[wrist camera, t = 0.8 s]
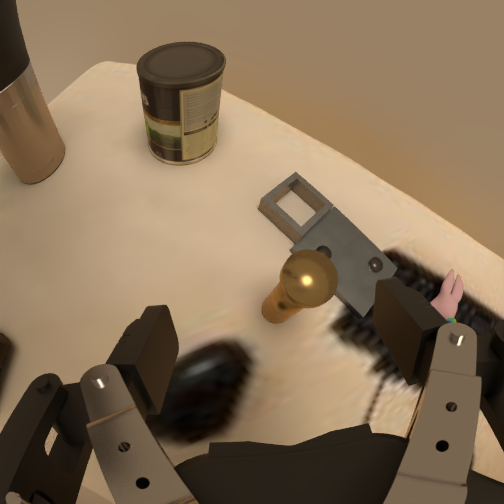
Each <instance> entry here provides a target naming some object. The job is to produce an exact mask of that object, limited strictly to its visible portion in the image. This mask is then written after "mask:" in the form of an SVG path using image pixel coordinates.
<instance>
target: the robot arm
mask: <svg viewBox="0 0 504 504" xmlns="http://www.w3.org/2000/svg"><path fill="white" fill-rule="evenodd" d="M0 151H1V152H2V154H3V156H4V157H5V159H6V160H7V162H8V163H9V165H10V166H11V168H12V169H13V170H14V172H15V173H16V175H17V176H18V177H19V179H20V180H21V181H22V182H24V183H27V184H32V183H36V182H39V181H41V180H43V179H45V178H46V177H48V176H49V175H50V174H51V173H53V172H54V171H55V169H56V168H57V167H58V166H59V164H60V163H61V161H62V159H63V157H64V153H65V146H64V143H63V141H62V139H61V137H60V135H59V133H58V130H57V128H56V126H55V123H54V121H53V119H52V116H51V114H50V112H49V109H48V107H47V104H46V102H45V100H44V97H43V95H42V92H41V89H40V87H39V84H38V81H37V79H36V76H35V74H34V71H33V68H32V65H31V62H30V59H29V56H28V53H27V50H26V46H25V42H24V38H23V35H22V31H21V27H20V23H19V18H18V13H17V6H16V0H0ZM373 319H374V325H375V328H376V331H377V332H378V334H379V336H380V337H381V339H382V341H383V342H384V344H385V346H386V347H387V349H388V351H389V352H390V354H391V356H392V357H393V359H394V361H395V363H396V364H397V366H398V368H399V370H400V371H401V373H402V375H403V377H404V378H405V380H406V382H407V384H408V385H409V386H410V385H413V384H416V383H419V382H420V383H421V385H422V388H421V391H420V394H419V397H418V400H417V404H416V407H415V410H414V413H413V416H412V419H411V421H410V424H409V427H408V430H407V432H406V435H405V437H404V438H403V437H400V436H396V435H391V434H384V433H372V431H371V428H370V425H369V423H367V424H363V425H359V426H354V427H350V428H345V429H340V430H335V431H331V432H328V433H326V434H323V435H321V436H318V437H315V438H313V439H310V440H307V441H305V442H302V443H299V444H296V445H292V446H284V445H274V444H265V443H257V442H250V441H246V442H216V443H210V446H209V453H207V454H203V455H199V456H196V457H193V458H191V459H188V460H186V461H184V462H182V463H180V464H179V465H177V466H176V467H175V466H174V465H173V464H172V462H171V461H170V459H169V458H168V456H167V455H166V453H165V452H164V450H163V448H162V447H161V445H160V444H159V442H158V440H157V439H156V437H155V436H154V434H153V432H152V431H151V429H150V427H149V425H148V424H147V422H146V418H147V415H148V414H154V415H160V411H161V408H162V404H163V401H164V398H165V394H166V391H167V388H168V384H169V381H170V378H171V375H172V371H173V368H174V365H175V362H176V359H177V355H178V351H179V343H178V338H177V334H176V331H175V328H174V325H173V321H172V318H171V315H170V311H169V308H168V307H167V305H157V306H147V307H146V309H145V310H144V312H143V314H142V316H141V317H140V319H136V320H135V321H134V322H132V323H131V324H130V325H129V326H128V327H127V328H126V330H125V331H124V333H123V336H122V337H121V338H120V340H119V341H118V342H119V343H117V345H116V346H115V348H114V350H113V351H112V353H111V355H110V357H109V358H108V360H107V362H106V364H101V365H97V366H95V367H93V368H91V369H89V370H88V371H87V372H85V373H84V375H83V376H82V378H81V380H80V382H78V383H72V384H66V385H63V383H62V381H61V380H60V378H59V377H58V376H57V375H56V374H52V373H48V374H44V375H41V376H39V377H37V378H36V379H35V380H34V381H33V382H32V383H31V384H30V385H29V387H28V389H27V390H26V392H25V393H24V395H23V396H22V398H21V400H20V401H19V403H18V404H17V406H16V408H15V409H14V411H13V413H12V414H11V416H10V418H9V419H8V421H7V423H6V425H5V426H4V428H3V430H2V432H1V433H0V504H75V503H76V500H77V497H78V493H79V490H80V487H81V483H82V480H83V477H84V474H85V470H86V467H87V464H88V461H89V458H90V455H91V452H92V449H94V452H95V454H96V457H97V460H98V462H99V465H100V468H101V470H102V473H103V475H104V478H105V480H106V482H107V485H108V487H109V489H110V492H111V494H112V496H113V498H114V500H115V502H116V504H504V483H502V482H499V481H497V480H494V479H492V478H489V477H487V476H484V475H482V474H480V473H477V472H475V471H473V470H471V469H469V466H470V462H471V457H472V453H473V448H474V442H475V436H476V430H477V423H478V415H479V407H480V409H481V411H482V412H483V414H484V416H485V418H486V419H487V421H488V423H489V425H490V427H491V428H492V430H493V432H494V434H495V436H496V438H497V440H498V442H499V444H500V446H501V448H502V450H503V452H504V320H501V321H499V322H497V324H496V325H495V328H494V331H493V334H489V335H476V333H475V332H474V330H473V329H471V328H470V327H469V326H467V325H464V324H461V323H449V322H448V321H447V320H446V319H445V318H444V317H443V316H442V315H441V314H440V313H439V312H438V311H437V310H436V309H435V308H434V306H432V304H431V303H430V302H429V301H426V298H425V297H424V296H423V295H422V294H421V293H420V292H418V291H416V290H414V289H412V288H410V287H406V286H405V285H404V284H403V283H402V282H401V281H400V280H399V279H398V278H396V277H393V278H387V279H380V280H378V281H377V282H376V288H375V302H374V314H373ZM52 427H53V428H54V429H55V431H56V432H57V433H58V435H57V437H56V439H55V442H54V444H53V446H52V448H51V451H50V453H49V456H48V455H47V454H46V451H45V441H46V439H47V436H48V434H49V432H50V430H51V428H52Z"/></svg>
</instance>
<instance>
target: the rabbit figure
mask: <svg viewBox="0 0 504 504" xmlns="http://www.w3.org/2000/svg"><path fill="white" fill-rule="evenodd" d="M453 283H454V271H453V269H451V270H450V272H449V273H448V275H447V277H446V278H445V280H444V282H443V284H442V286H441V290H440V293H439V295H438V296H437V297H436V298H435V299H433V300H432V301H431V302H430V303H431V304H432V306H434V308H435V309H436V310H437V311H438V312H439V313H440V314H441V315H442V316H443V317H444V318H445V319H446V320H447V321H448V322H449V323H456V319H455V318H454V316H455V314H456V311H457V306H458V304H457V303H458V302H459V301H460V300H461V297H462V294H463V282H462V280H461V277H460V276H459V275H457V278H456V280H455V284H454V286H453ZM452 287H453V289H452ZM451 291H452V292H451ZM450 293H451V294H450Z"/></svg>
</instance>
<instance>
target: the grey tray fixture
mask: <svg viewBox="0 0 504 504" xmlns="http://www.w3.org/2000/svg"><path fill="white" fill-rule="evenodd" d="M291 189H292V190H293V191H294V192H295V193H296V194H297V195H298V196H300V197H301V198H302V199H303V200H304V201H305V202H306V203H307V204H309V205H310V206H311V207H312V208H313V209H314V210H315V211H316V212H317V213H316V214H315V215H314V216H313V217H312V218H311V219H310V220H308V221H307V222H306V223H305V224H304V225H303V226H302V227H301V226H300V225H299V224H297V223H296V222H295V221H294V220H293V219H292V218H291V217H290V216H289V215H288V214H287V213H286V212H284V211H283V210H282V209H281V208H280V207H279V206H278V205H277V204H276V203H275V202H277V201H278V200H279V199H280V198H282V197H283V196H284V195H285V194H286V193H288V192H289V191H290V190H291ZM333 206H334V205H333V204H332V203H331V202H330V201H329V200H327V199H326V198H325V197H324V196H323V195H322V194H321V193H320V192H318V191H317V190H316V189H315V188H314V187H313V186H312V185H311V184H309V183H308V182H307V181H306V180H305V179H304V178H302V177H301V176H300V175H299V174H298V173H297V172H295V173H294V174H292V175H291V176H290V177H288V178H287V179H286V180H284V181H283V182H282V183H280V184H279V185H278V186H277V187H275V188H274V189H273V190H271V191H270V192H269V193H268V194H266V195H265V196H264V197H262V198H261V201H260V204H259V207H258V209H259V210H260V211H261V212H262V213H263V214H264V215H265V216H266V217H267V218H268V219H269V220H270V221H272V222H273V223H274V224H275V225H276V226H277V227H278V228H279V229H280V230H281V231H282V232H283V233H284V234H285V235H286V236H288V237H289V238H290V239H291V240H292V241H293V242H294V243H295V245H294V246H293V247H292V248H291V250H290V251H291V252H292V253H293V254H294V253H295V252H297V251H300V250H304V249H311V250H316V251H319V252H321V253H323V254H324V255H326V256H327V257H328V258H329V259H330V260H331V261H332V263H333V264H334V266H335V268H336V270H337V273H338V287H337V290H336V292H335V295H336V296H337V297H338V298H339V299H340V300H341V301H342V302H343V303H344V304H345V305H346V306H347V307H348V308H349V309H350V310H351V311H352V312H353V313H354V314H355V315H356V316H357V317H358V318H359V319H360V318H363V317H364V316H365V314H366V313H367V312H368V310H369V309H370V308H371V306H372V305H373V303H374V302H375V288H376V282H377V281H378V280H380V279H387V278H392V276H393V275H394V273H395V272H396V270H397V267H396V266H395V265H394V264H393V263H392V262H391V261H390V260H389V259H388V258H387V257H386V256H385V255H384V254H383V253H382V252H381V251H380V250H379V249H378V248H377V247H376V246H375V245H374V244H373V243H372V242H371V241H370V240H369V239H368V238H367V237H366V236H365V235H364V234H363V233H362V232H361V231H360V230H359V229H358V228H357V227H356V226H355V225H354V224H353V223H352V222H351V221H350V220H349V219H348V218H347V217H345V216H344V215H343V214H342V213H341V212H340V211H339V210H338V209H337V208H336V207H335V206H334V207H333ZM332 207H333V208H332ZM331 208H332V209H331Z"/></svg>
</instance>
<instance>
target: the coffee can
mask: <svg viewBox="0 0 504 504" xmlns="http://www.w3.org/2000/svg"><path fill="white" fill-rule="evenodd" d="M225 64H226V58H225V56H224V54H223V53H222V52H221V51H220V50H218V49H217V48H215V47H213V46H210V45H207V44H203V43H197V42H176V43H170V44H166V45H163V46H159V47H157V48H155V49H152V50H151V51H149V52H147V53H146V54H144V55H143V56H142V57H141V58H140V59H139V61H138V63H137V74H138V76H139V83H140V91H141V98H142V105H143V111H144V118H145V124H146V130H147V136H148V145H149V149H150V151H151V153H152V154H153V155H154V156H155V157H156V158H157V159H158V160H160V161H162V162H165V163H168V164H172V165H187V164H192V163H195V162H198V161H200V160H202V159H204V158H205V157H207V156H208V155H209V154H210V153H211V152H212V151H213V149H214V148H215V146H216V142H217V127H218V116H219V106H220V97H221V87H222V79H223V70H224V68H225Z"/></svg>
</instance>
